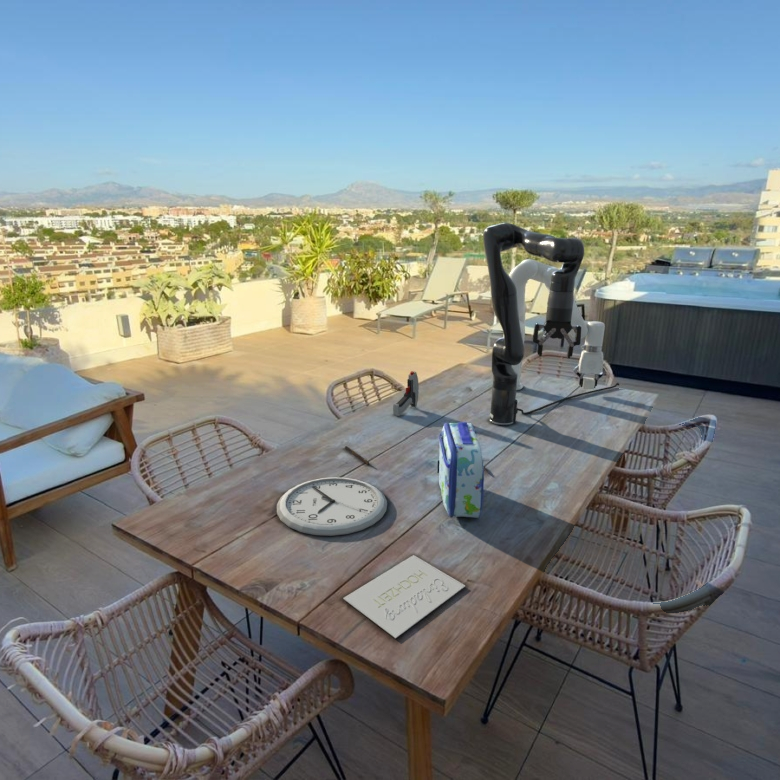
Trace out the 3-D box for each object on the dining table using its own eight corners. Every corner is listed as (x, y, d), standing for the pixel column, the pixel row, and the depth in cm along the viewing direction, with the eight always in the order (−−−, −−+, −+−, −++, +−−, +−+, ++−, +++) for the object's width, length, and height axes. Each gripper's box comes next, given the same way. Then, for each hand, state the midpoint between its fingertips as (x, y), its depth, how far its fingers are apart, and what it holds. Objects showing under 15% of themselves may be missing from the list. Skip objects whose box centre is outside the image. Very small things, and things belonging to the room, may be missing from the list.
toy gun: (392, 379, 206) (413, 369, 217) (393, 417, 212) (414, 405, 223) (397, 380, 205) (418, 370, 216) (398, 418, 210) (418, 406, 222)
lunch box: (435, 478, 159) (438, 413, 153) (470, 478, 159) (475, 414, 153) (442, 524, 134) (446, 449, 128) (484, 525, 134) (490, 450, 128)
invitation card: (413, 554, 121) (465, 585, 111) (413, 555, 121) (465, 586, 111) (343, 597, 107) (395, 637, 97) (343, 598, 107) (395, 638, 97)
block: (582, 388, 242) (583, 379, 241) (581, 385, 247) (582, 377, 245) (594, 389, 241) (595, 380, 240) (592, 386, 246) (593, 377, 244)
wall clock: (392, 527, 129) (268, 531, 127) (391, 533, 130) (269, 537, 127) (383, 473, 158) (282, 475, 155) (383, 478, 158) (282, 480, 156)
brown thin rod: (344, 448, 179) (344, 445, 179) (346, 448, 179) (346, 445, 179) (367, 464, 167) (367, 462, 167) (368, 464, 167) (368, 461, 167)
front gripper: (537, 306, 158) (531, 358, 163) (586, 308, 156) (579, 361, 161) (535, 303, 165) (530, 353, 170) (582, 305, 163) (575, 355, 168)
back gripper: (574, 349, 236) (569, 387, 242) (614, 351, 233) (608, 390, 239) (572, 345, 243) (567, 383, 249) (611, 348, 240) (605, 386, 246)
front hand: (554, 357), depth 165 cm, fingers open, 8 cm apart
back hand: (587, 386), depth 244 cm, fingers closed on block, 5 cm apart
